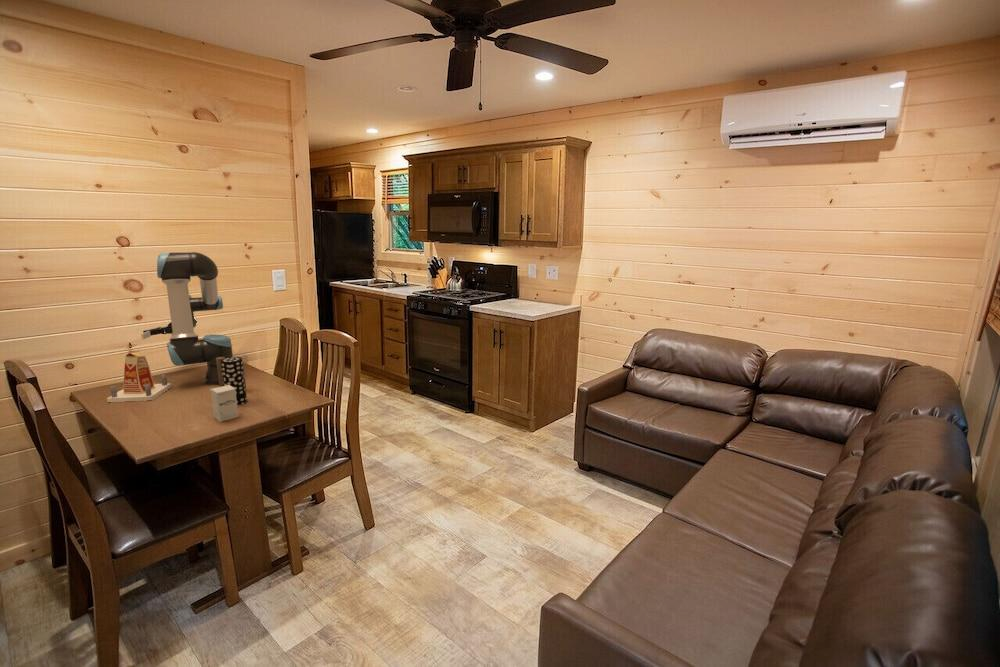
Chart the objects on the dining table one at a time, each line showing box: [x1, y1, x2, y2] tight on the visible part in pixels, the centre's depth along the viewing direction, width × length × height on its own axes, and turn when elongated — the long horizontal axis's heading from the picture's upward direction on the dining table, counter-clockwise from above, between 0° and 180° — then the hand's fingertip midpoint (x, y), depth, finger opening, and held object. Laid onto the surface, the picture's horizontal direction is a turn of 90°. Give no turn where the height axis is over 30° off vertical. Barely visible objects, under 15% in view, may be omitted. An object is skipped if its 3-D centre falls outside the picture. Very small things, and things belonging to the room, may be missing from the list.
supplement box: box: [209, 385, 239, 423], centre depth 200 cm, size 7×7×13 cm
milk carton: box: [123, 349, 155, 394], centre depth 224 cm, size 9×9×20 cm
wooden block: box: [216, 357, 247, 389], centre depth 227 cm, size 4×11×18 cm, turn 134°
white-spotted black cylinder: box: [220, 356, 248, 406], centre depth 215 cm, size 8×8×20 cm
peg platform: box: [106, 373, 173, 403], centre depth 225 cm, size 18×18×7 cm
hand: (157, 336), depth 238 cm, fingers open, 13 cm apart
